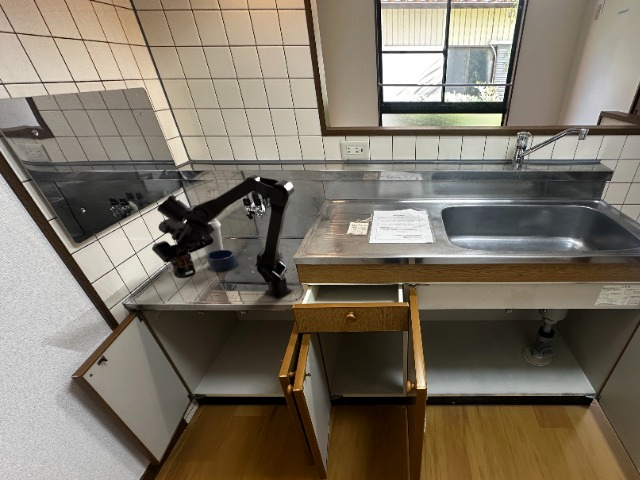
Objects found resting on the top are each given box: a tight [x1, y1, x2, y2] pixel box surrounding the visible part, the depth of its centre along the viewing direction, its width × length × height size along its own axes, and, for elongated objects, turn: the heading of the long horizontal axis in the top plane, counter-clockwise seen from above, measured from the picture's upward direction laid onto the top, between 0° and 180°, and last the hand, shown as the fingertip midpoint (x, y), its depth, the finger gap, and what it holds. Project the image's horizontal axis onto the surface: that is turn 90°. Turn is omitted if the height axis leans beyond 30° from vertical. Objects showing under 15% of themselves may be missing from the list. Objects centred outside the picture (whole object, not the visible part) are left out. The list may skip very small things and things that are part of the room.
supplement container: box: [169, 243, 197, 279], centre depth 113 cm, size 7×7×10 cm
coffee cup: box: [203, 218, 224, 256], centre depth 135 cm, size 10×10×15 cm
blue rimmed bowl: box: [206, 249, 237, 272], centre depth 130 cm, size 10×10×5 cm
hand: (177, 257), depth 113 cm, fingers closed on supplement container, 7 cm apart
